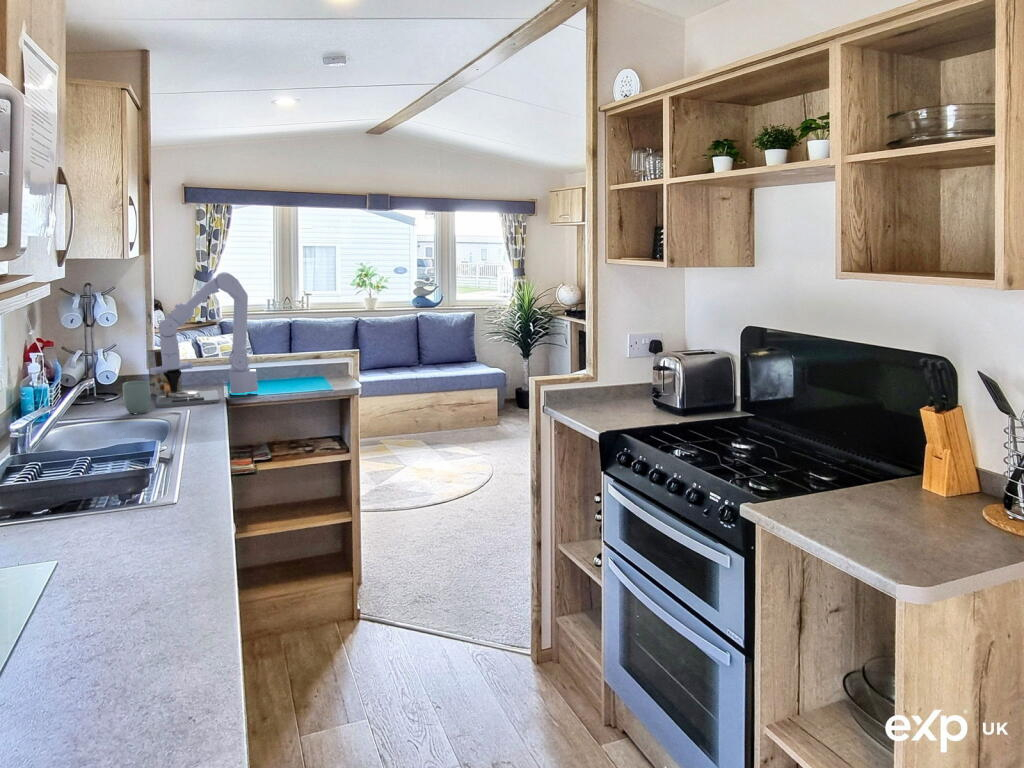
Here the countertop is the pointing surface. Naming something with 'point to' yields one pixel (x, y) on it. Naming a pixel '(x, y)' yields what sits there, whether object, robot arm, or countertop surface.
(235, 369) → the robot arm
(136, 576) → the countertop surface
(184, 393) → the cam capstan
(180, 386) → the coffee box
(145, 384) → the cup
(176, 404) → the gray mechanism base plate
